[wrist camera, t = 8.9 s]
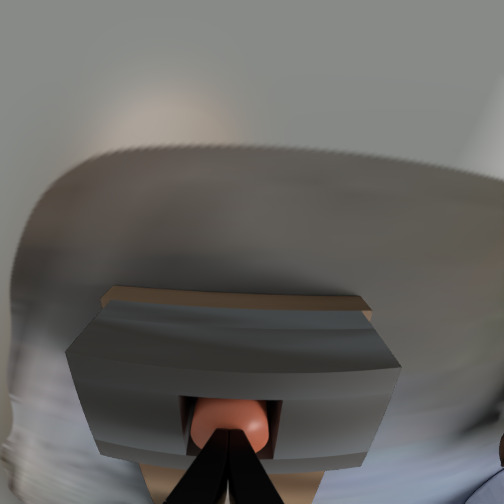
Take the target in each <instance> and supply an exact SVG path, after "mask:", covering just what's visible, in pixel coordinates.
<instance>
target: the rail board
mask: <svg viewBox="0 0 504 504" xmlns="http://www.w3.org/2000/svg"><path fill="white" fill-rule="evenodd" d="M100 299H101V306H102V310H101V311H100V312H99V314H98V315H97V316H96V317H95V318H94V319H93V320H92V321H91V322H90V324H89V325H88V326H87V327H86V328H85V329H84V330H83V332H82V333H81V334H80V335H79V336H78V337H77V338H76V340H75V341H74V342H73V343H72V344H71V345H70V347H69V348H68V349H67V350H66V351H65V354H66V357H67V361H68V365H69V368H70V372H71V375H72V378H73V382H74V385H75V388H76V391H77V394H78V397H79V400H80V403H81V406H82V409H83V412H84V414H85V417H86V420H87V422H88V425H89V428H90V430H91V433H92V435H93V438H94V440H95V442H96V445H97V447H98V450H99V452H100V454H101V455H104V456H109V457H113V458H117V459H122V460H126V461H131V462H137V463H139V466H140V469H141V471H142V474H143V477H144V480H145V482H146V485H147V488H148V490H149V493H150V495H151V498H152V500H153V503H154V504H162V503H163V502H164V501H165V500H166V498H167V497H168V495H169V494H170V493H171V491H172V490H173V489H174V487H175V486H176V485H177V483H178V482H179V480H180V479H181V478H182V476H183V475H184V474H185V472H186V471H187V469H188V468H189V467H190V465H191V464H192V462H193V461H194V459H195V458H196V457H197V455H198V454H199V452H200V451H201V448H199V447H198V446H197V445H196V444H195V443H194V441H193V439H192V437H191V426H192V421H193V415H194V410H195V405H196V399H197V397H206V398H221V399H243V400H266V408H267V420H268V432H269V438H268V441H267V443H266V445H265V446H264V447H263V448H262V449H261V450H259V451H258V452H256V454H257V456H258V458H259V460H260V462H261V464H262V465H263V467H264V469H265V471H266V472H267V474H268V476H269V478H270V479H271V481H272V483H273V485H274V486H275V488H276V490H277V491H278V493H279V495H280V496H281V498H282V500H283V501H284V503H285V504H311V503H312V501H313V498H314V496H315V494H316V492H317V489H318V487H319V484H320V482H321V479H322V477H323V474H324V472H325V471H329V470H338V469H346V468H353V467H360V466H361V465H362V463H363V461H364V459H365V457H366V455H367V453H368V450H369V448H370V446H371V444H372V442H373V440H374V437H375V435H376V433H377V431H378V428H379V426H380V424H381V421H382V419H383V416H384V414H385V411H386V409H387V406H388V404H389V401H390V399H391V396H392V393H393V391H394V388H395V385H396V382H397V380H398V377H399V374H400V371H401V368H402V367H401V365H400V364H399V363H398V361H397V360H396V358H395V357H394V355H393V354H392V353H391V351H390V350H389V348H388V347H387V346H386V344H385V343H384V341H383V340H382V339H381V337H380V336H379V334H378V333H377V332H376V330H375V329H374V328H373V326H372V325H371V323H370V319H371V314H372V310H371V308H370V307H369V306H368V305H367V304H366V302H365V301H364V300H363V299H362V297H361V296H307V295H271V294H245V293H223V292H203V291H186V290H170V289H155V288H141V287H128V286H116V285H114V286H112V287H111V288H110V289H109V290H108V291H107V292H106V293H105V294H104V295H103V296H102V297H101V298H100ZM225 504H230V502H229V494H228V490H227V496H226V502H225Z"/></svg>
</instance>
